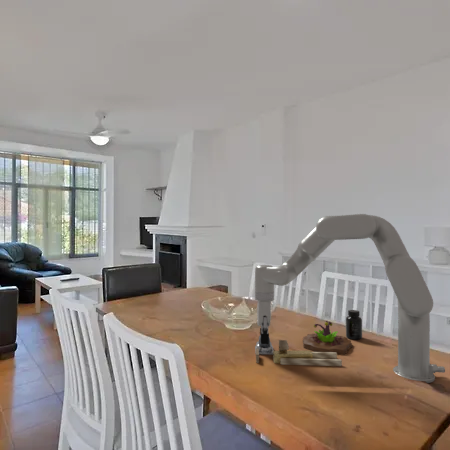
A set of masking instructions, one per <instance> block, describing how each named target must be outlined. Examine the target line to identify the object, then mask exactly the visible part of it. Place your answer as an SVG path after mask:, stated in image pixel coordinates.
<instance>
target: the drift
mask: <svg viewBox="0 0 450 450" xmlns="http://www.w3.org/2000/svg"><path fill="white" fill-rule="evenodd" d="M312 352H313V351H311V350H287V351H279V350H274V351H273V355H272V361H273V363H274V364H280V358H306V359H314V358H313V354H312Z"/></svg>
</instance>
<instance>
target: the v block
mask: <svg viewBox="0 0 450 450" xmlns="http://www.w3.org/2000/svg"><path fill="white" fill-rule="evenodd" d="M255 343H256V345H254V347H255V348H254V350H255V352H254V353H255V355H256V349H259V355H272V356H273V351H275V350H274V346H273V345H272V342H271V341H270V346H269V347H268V348H262V347H261V346H260V345H259V340H258V341H256V342H255Z"/></svg>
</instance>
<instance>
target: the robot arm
mask: <svg viewBox="0 0 450 450" xmlns="http://www.w3.org/2000/svg"><path fill="white" fill-rule="evenodd" d="M368 238H369V239H370V240H371V241H372V242H373V243H374V245H375V247H376V250H377V251H378V254H379V255H380V258H381V261H382V263H383V265H384V271H385V274H386V277H387V279H388V282H389V283H390V285H391V287H392V290H393V293H394V295H395V297H396V298H397V316H398V317H397V319H398V321H397V323H398V324H397V327H398V328H397V341H398V342H397V352H398V353H397V365H395V366H394V367H393V368H392V371H393V372H394V373H395V374H396V375H398V376H400V377H402V378H404V379H407V380H412V381H417V382H425V383H427V384H430V383H433V382H434V381H435V380H436V377H435V374H436V373H445V372H446V368H445V367H444V366H439V365H437V364H436V363H435V364H432V363H430V362H431V361H430V360H431V359H430V357H431V354H430V353H431V352H430V347H431V346H430V344H431V341H430V340H431V339H430V338H431V337H430V336H431V334H430V331H431V330H430V329H431V327H430V326H431V325H430V324H431V320H430V319H431V318H430V313H431V312H432V310H433V307H434V299H433V297H432V293H431V292H430V290H429V288H428V286H427V283H426V281H425V279H424V276H423V275H422V272H421V271H420V268H419V266H418V265H417V263H416V261H414V259H413V258H412V257H411V255H410V254H409V251H408V250H407V247H406V246H405V244H404V242H403V240H402V238H401V236H400V234H399V233H398V231H397V229H396V227H394V226H393V225H392V224H391V223H390V221H388V220H387V219H385V218H382V217H380V216H377V215H371V214H366V213H359V214H358V213H357V214H345V215H343V214H342V215H325V216H323V217H321V218H320V219H319V220H318V221H317V223H316V226H315V227H314V228H313V229H312V230H310V232H309V233H308V234H307V235H306V236H304V238H302V240H301V241H300V242H299V244H298V246H297V247H296V250H295V251H294V253H292V255H290V257H288V259H287V260H285V262H284V263H283V264H281V265H278V266H272V265H270V264H259V265H256V266H255V268H254V270H255V271H254V273H255V274H254V280H255V281H254V301H257V304H256V305H257V307H256V310H257V312H256V315H257V316H256V317H257V318H256V320H257V326H258V327H260V328H259V329H260V330H259V336H260V335H261V344H269V338H270V333H269V327H270V326H271V321H272V320H271V318H272V317H271V316H272V302H273V301H274V300H275V286H279V287H280V286H281V287H284V286H287V285H288V284H290V283H292V282H293V281H294V280H295V279H296V278H297V277H298V276H299V275H300V274H301V273H302V272H303V271H304V270H305V269H306V268H307V267H308V266H309V265H310V264H312V263H313V262H314V261H315V260H316V259H317V258H319V256H320V255H322V253H323V252H325V250H327V248H329V247H330V246H331V244H333V243H334V242H335V241H338V240H339V241H342V240H365V239H368Z"/></svg>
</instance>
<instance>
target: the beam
mask: <svg viewBox="0 0 450 450" xmlns="http://www.w3.org/2000/svg"><path fill="white" fill-rule="evenodd" d="M289 349H290V346H289V343H288V340H287V339H278V351H290V350H289ZM311 352H312V354H313V359H306V358H280V363H279V364H280V365H290V366H291V365H292V366H293V365H294V366H327V367H328V366H329V367H330V366H331V367H342V366H343V361H342V359H341V358H340V359H338V354H337V353H336V352H314V351H311ZM255 363H257V364H259V363H260V354H259V349H256V354H255Z"/></svg>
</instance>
